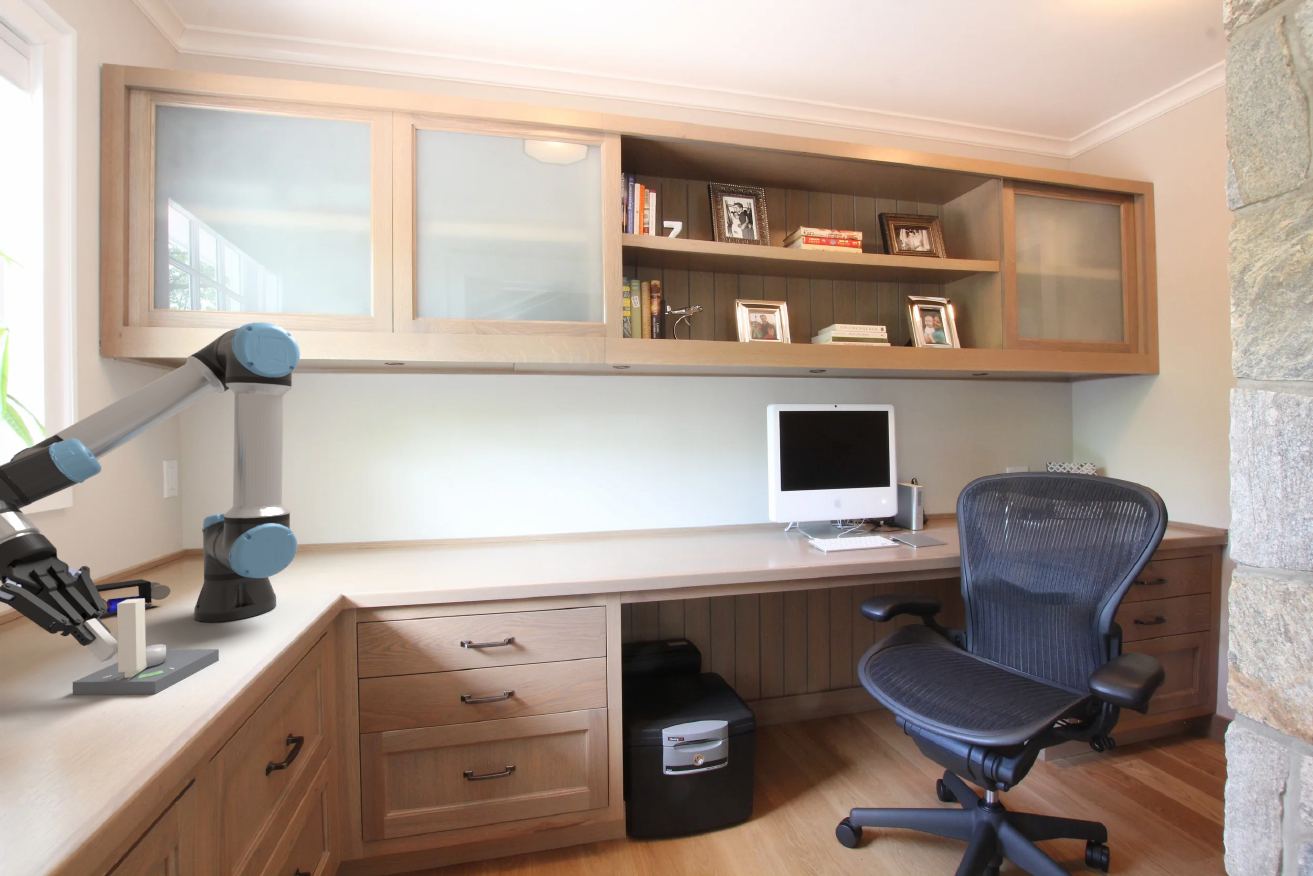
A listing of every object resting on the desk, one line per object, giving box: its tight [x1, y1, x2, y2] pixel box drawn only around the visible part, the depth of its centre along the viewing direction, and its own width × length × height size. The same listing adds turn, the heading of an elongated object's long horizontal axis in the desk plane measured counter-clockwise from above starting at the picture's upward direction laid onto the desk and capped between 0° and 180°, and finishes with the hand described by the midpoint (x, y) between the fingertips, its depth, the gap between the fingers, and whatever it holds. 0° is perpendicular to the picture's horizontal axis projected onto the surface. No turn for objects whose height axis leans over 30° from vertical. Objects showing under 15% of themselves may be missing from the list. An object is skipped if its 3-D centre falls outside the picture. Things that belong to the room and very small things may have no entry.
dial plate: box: [72, 648, 220, 696], centre depth 95 cm, size 13×13×2 cm
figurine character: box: [94, 578, 171, 618], centre depth 129 cm, size 7×8×15 cm
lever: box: [116, 598, 167, 678], centre depth 93 cm, size 8×4×12 cm, turn 15°
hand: (111, 654), depth 89 cm, fingers closed
